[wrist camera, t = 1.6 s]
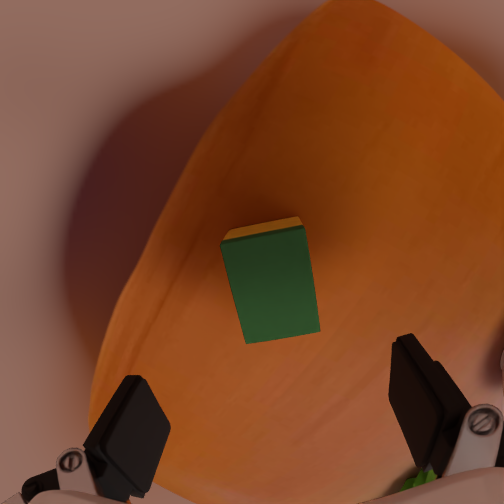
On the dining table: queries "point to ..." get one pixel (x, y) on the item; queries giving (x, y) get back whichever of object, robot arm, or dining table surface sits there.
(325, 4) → the dining table surface
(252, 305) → the sponge
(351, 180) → the dining table surface
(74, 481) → the robot arm
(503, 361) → the bowl
